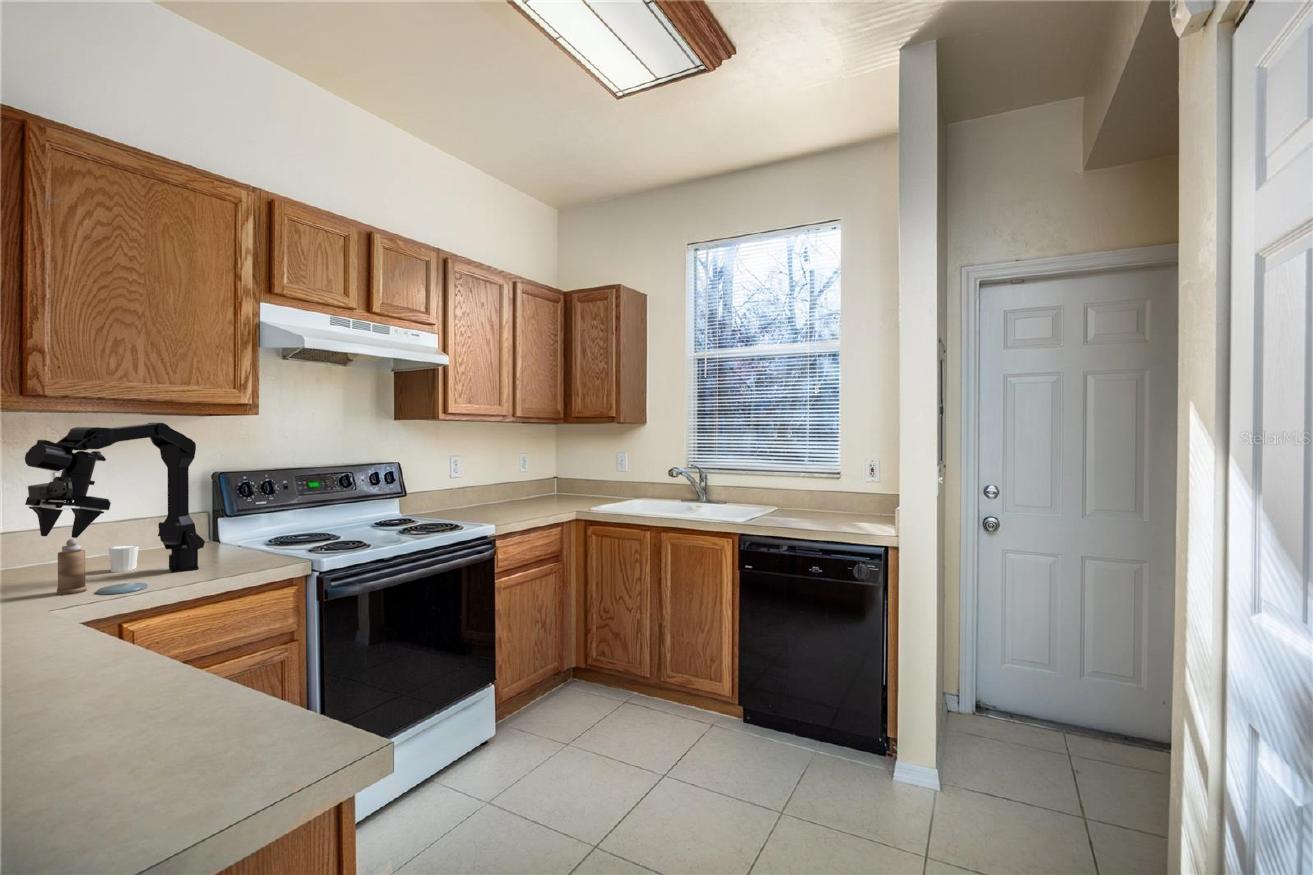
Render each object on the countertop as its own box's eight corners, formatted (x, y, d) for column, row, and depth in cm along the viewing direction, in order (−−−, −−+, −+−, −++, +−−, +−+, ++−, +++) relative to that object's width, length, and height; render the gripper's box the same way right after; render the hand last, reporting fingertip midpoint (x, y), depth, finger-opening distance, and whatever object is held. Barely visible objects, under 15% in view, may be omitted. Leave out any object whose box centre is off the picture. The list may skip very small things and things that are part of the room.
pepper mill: (87, 588, 164) (86, 536, 164) (85, 592, 160) (85, 539, 159) (57, 591, 160) (57, 538, 160) (55, 596, 156) (55, 541, 156)
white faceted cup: (103, 571, 183) (103, 547, 183) (132, 566, 189) (132, 543, 189) (114, 573, 180) (114, 549, 180) (143, 569, 186) (143, 545, 186)
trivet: (146, 583, 170) (146, 580, 170) (147, 590, 162) (147, 588, 162) (97, 588, 163) (97, 586, 163) (96, 596, 156) (96, 594, 156)
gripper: (10, 467, 150) (-11, 532, 147) (73, 469, 147) (54, 535, 143) (59, 476, 161) (42, 536, 157) (119, 478, 158) (102, 539, 154)
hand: (58, 537), depth 153 cm, fingers open, 9 cm apart
